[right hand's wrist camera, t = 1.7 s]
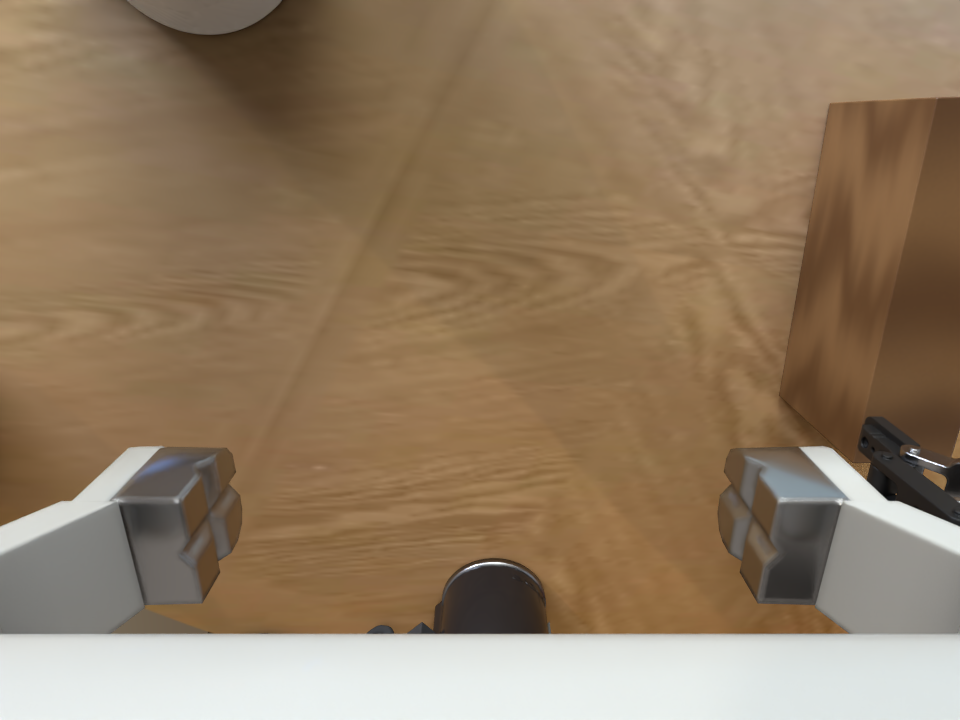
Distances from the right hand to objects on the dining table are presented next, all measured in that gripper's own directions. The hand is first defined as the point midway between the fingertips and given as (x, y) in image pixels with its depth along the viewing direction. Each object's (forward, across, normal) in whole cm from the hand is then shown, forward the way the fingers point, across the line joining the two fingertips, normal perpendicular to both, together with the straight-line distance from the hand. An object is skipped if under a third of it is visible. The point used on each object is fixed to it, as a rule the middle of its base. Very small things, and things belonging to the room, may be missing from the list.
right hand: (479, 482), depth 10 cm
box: (+36, -27, +4) cm, 45 cm away
